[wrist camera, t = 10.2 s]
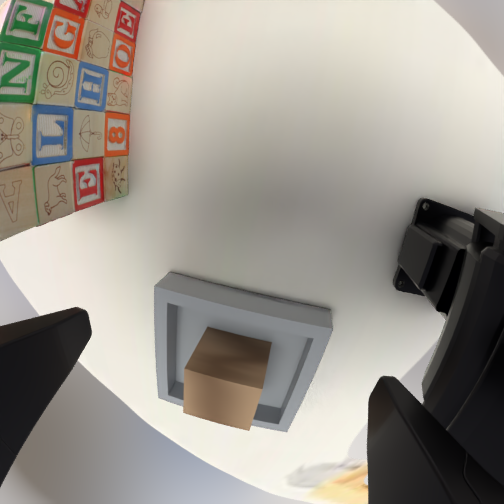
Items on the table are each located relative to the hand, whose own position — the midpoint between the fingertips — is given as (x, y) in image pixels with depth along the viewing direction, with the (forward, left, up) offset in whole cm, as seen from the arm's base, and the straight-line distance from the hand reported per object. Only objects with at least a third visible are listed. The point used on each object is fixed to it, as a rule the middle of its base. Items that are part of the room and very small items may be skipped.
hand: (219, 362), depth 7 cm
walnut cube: (+1, +10, -11) cm, 15 cm away
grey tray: (+1, +10, -12) cm, 16 cm away
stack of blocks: (+15, -11, -12) cm, 22 cm away
